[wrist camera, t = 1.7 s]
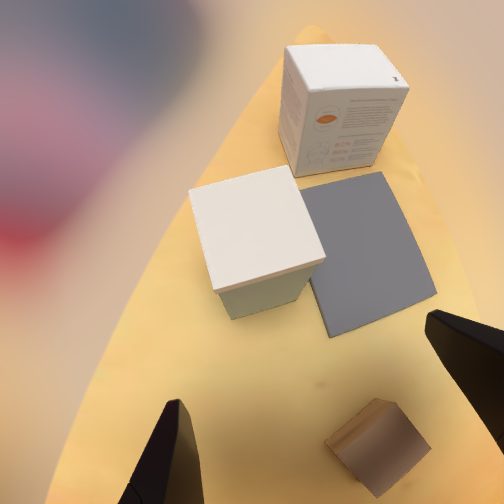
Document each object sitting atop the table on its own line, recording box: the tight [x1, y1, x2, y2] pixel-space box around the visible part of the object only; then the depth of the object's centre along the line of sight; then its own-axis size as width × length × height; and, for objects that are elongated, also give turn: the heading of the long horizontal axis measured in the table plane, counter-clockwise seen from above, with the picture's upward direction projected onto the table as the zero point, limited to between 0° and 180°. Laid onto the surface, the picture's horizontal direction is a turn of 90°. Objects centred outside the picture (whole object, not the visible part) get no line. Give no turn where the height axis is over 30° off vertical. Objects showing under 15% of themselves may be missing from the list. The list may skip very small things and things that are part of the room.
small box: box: [278, 44, 409, 178], centre depth 24 cm, size 8×6×10 cm
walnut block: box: [325, 399, 431, 498], centre depth 18 cm, size 5×5×4 cm
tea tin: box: [188, 165, 326, 320], centre depth 20 cm, size 5×5×10 cm
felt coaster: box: [299, 172, 437, 338], centre depth 25 cm, size 12×10×1 cm
